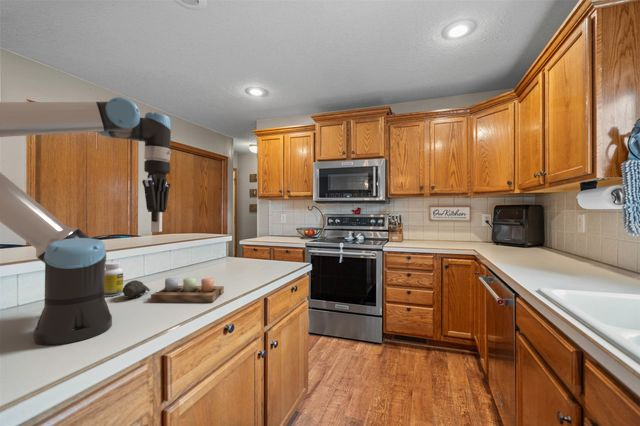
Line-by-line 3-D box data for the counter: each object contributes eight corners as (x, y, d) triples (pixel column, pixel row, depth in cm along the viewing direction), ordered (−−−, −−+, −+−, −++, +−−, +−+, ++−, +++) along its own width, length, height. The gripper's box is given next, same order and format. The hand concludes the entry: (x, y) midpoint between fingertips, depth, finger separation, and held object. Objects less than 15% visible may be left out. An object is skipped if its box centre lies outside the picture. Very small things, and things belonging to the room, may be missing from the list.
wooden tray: (223, 292, 109) (223, 286, 109) (212, 302, 97) (212, 295, 97) (168, 292, 109) (168, 285, 109) (150, 302, 97) (150, 294, 97)
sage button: (192, 291, 101) (193, 280, 101) (181, 291, 101) (181, 280, 101) (197, 288, 105) (197, 278, 105) (186, 288, 105) (186, 277, 105)
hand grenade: (145, 292, 98) (155, 286, 110) (129, 279, 97) (141, 274, 109) (130, 306, 97) (142, 298, 108) (114, 292, 96) (127, 286, 107)
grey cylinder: (174, 291, 101) (174, 280, 101) (162, 291, 101) (162, 280, 101) (180, 288, 105) (180, 277, 105) (168, 288, 105) (168, 277, 105)
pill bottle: (114, 297, 101) (114, 265, 101) (96, 297, 101) (97, 264, 101) (127, 292, 107) (127, 261, 107) (110, 291, 108) (110, 261, 107)
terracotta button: (211, 292, 101) (211, 281, 101) (199, 292, 101) (199, 280, 101) (215, 288, 105) (215, 278, 105) (203, 288, 105) (204, 278, 105)
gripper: (158, 157, 88) (157, 233, 88) (178, 164, 101) (177, 230, 101) (133, 157, 88) (132, 232, 88) (157, 164, 101) (156, 230, 101)
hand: (156, 231), depth 95 cm, fingers closed
